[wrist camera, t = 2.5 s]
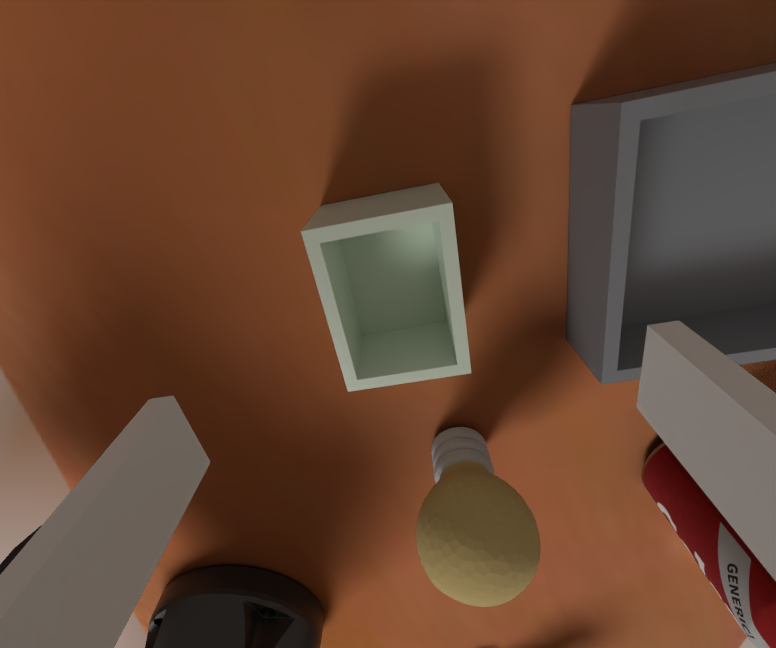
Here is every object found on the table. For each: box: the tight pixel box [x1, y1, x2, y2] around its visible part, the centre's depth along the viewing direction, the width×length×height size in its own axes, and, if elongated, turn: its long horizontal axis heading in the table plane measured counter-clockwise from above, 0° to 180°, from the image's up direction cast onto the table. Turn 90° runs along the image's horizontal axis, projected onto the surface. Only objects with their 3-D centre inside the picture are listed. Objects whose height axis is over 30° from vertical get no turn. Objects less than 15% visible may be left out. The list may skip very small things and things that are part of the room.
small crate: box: [301, 182, 471, 392], centre depth 20 cm, size 6×8×5 cm
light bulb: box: [417, 427, 540, 607], centre depth 23 cm, size 6×6×10 cm
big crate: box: [566, 63, 776, 385], centre depth 18 cm, size 15×12×4 cm
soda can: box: [641, 442, 776, 648], centre depth 23 cm, size 7×7×12 cm
